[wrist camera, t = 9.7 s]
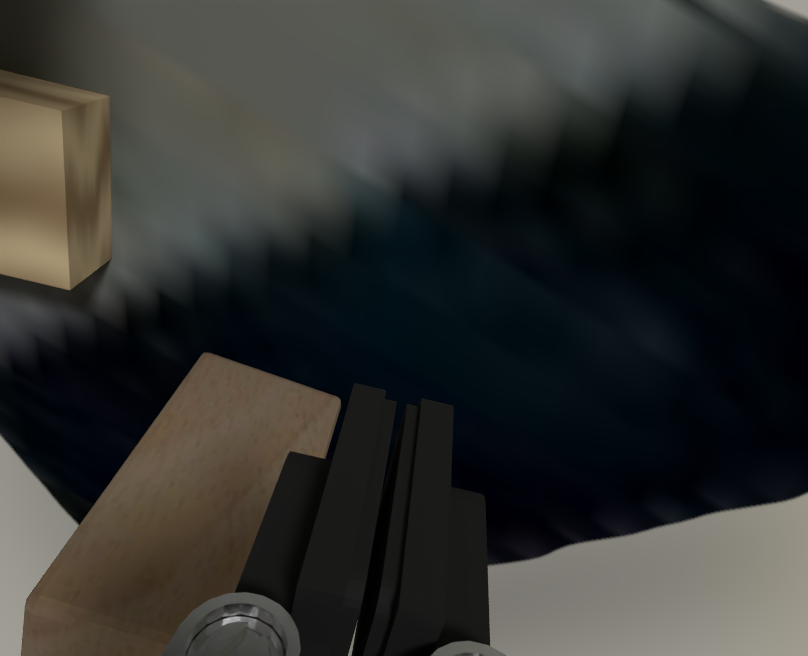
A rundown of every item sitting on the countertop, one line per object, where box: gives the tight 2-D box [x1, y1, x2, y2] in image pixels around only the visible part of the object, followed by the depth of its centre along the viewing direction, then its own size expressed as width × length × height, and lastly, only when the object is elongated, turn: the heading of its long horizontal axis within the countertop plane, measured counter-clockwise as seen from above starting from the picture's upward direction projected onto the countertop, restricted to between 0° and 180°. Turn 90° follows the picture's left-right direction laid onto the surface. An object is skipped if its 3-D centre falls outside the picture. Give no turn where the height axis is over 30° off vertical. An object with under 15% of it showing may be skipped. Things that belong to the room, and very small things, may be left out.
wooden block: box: [21, 353, 341, 656], centre depth 37 cm, size 10×10×20 cm
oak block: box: [0, 70, 112, 290], centre depth 35 cm, size 10×9×5 cm
